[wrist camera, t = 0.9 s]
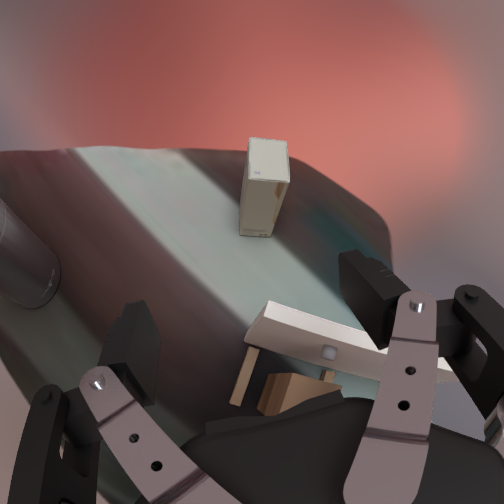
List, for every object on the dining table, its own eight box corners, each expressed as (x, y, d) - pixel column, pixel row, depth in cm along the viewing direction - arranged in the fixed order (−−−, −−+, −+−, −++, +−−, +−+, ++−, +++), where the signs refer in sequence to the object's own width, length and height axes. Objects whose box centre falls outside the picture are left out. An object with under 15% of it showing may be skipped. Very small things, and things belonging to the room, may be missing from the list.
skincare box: (270, 238, 41) (291, 185, 30) (238, 236, 40) (247, 181, 29) (270, 197, 43) (288, 139, 32) (240, 195, 43) (249, 135, 32)
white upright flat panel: (222, 399, 32) (226, 419, 17) (246, 332, 36) (268, 300, 21) (383, 437, 31) (466, 455, 17) (400, 377, 35) (485, 366, 20)
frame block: (255, 409, 32) (274, 425, 21) (268, 373, 34) (292, 372, 23) (291, 419, 32) (325, 437, 21) (303, 383, 34) (342, 386, 23)
